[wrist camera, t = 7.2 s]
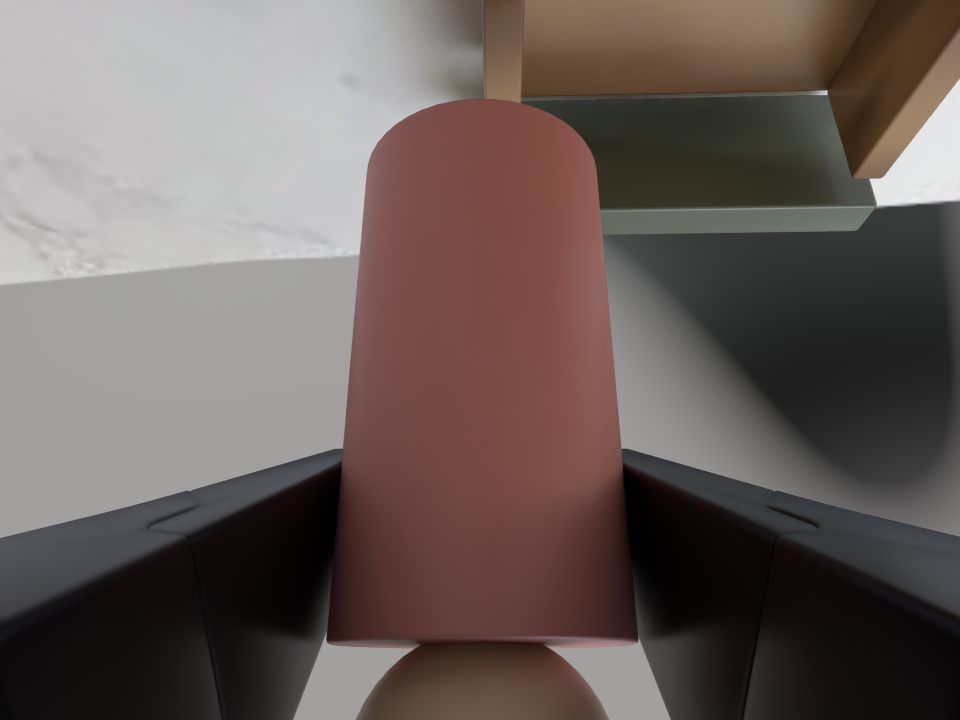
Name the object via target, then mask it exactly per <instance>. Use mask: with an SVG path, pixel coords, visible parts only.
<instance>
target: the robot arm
mask: <svg viewBox="0 0 960 720" xmlns="http://www.w3.org/2000/svg"><path fill="white" fill-rule="evenodd" d="M621 450H622V461H623V472H624V483H625V494H626V505H627V516H628V528H629V539H630V550H631V561H632V572H633V583H634V594H635V606H636V617H637V628H638V636H639V639H640V641H641V644H642V647H643V649H644V652H645V654H646V657H647V660H648V662H649V665H650V667H651V670H652V672H653V675H654V678H655V680H656V683H657V685H658V688H659V691H660V693H661V696H662V698H663V701H664V703H665V706H666V708H667V711H668V714H669V716H670V719H671V720H960V537H958V536H954V535H950V534H946V533H942V532H938V531H933V530H929V529H925V528H921V527H917V526H913V525H909V524H904V523H900V522H896V521H892V520H888V519H884V518H880V517H875V516H871V515H867V514H863V513H859V512H855V511H851V510H847V509H843V508H839V507H835V506H831V505H827V504H824V503H820V502H816V501H813V500H809V499H805V498H801V497H798V496H794V495H791V494H787V493H784V492H780V491H775V492H774V491H772V490H770V489H766V488H763V487H759V486H756V485H752V484H749V483H745V482H742V481H738V480H734V479H731V478H727V477H724V476H721V475H717V474H713V473H710V472H707V471H703V470H700V469H696V468H693V467H689V466H685V465H682V464H679V463H675V462H672V461H668V460H665V459H661V458H657V457H654V456H651V455H647V454H644V453H640V452H637V451H633V450H630V449H621ZM342 454H343V449H333V450H330V451H326V452H323V453H319V454H316V455H313V456H309V457H306V458H302V459H299V460H295V461H292V462H288V463H285V464H281V465H278V466H274V467H271V468H267V469H264V470H261V471H257V472H254V473H250V474H247V475H243V476H240V477H236V478H233V479H229V480H226V481H222V482H219V483H215V484H212V485H208V486H205V487H201V488H198V489H194V490H192V491H191V492H190V491H184V492H181V493H177V494H174V495H170V496H166V497H163V498H159V499H155V500H152V501H148V502H145V503H141V504H137V505H134V506H129V507H125V508H121V509H118V510H114V511H110V512H106V513H102V514H98V515H94V516H90V517H85V518H81V519H77V520H73V521H69V522H65V523H61V524H57V525H53V526H48V527H44V528H40V529H36V530H32V531H28V532H24V533H19V534H15V535H11V536H7V537H3V538H0V720H293V718H294V716H295V713H296V711H297V708H298V705H299V703H300V700H301V698H302V695H303V692H304V690H305V687H306V684H307V682H308V679H309V677H310V674H311V671H312V669H313V666H314V664H315V661H316V658H317V656H318V653H319V650H320V648H321V645H322V643H323V640H324V637H325V635H326V632H327V627H328V615H329V604H330V592H331V581H332V569H333V558H334V546H335V535H336V523H337V512H338V500H339V489H340V477H341V466H342Z"/></svg>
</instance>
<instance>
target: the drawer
mask: <svg viewBox="0 0 960 720" xmlns="http://www.w3.org/2000/svg"><path fill="white" fill-rule="evenodd" d="M482 27H483V64H484V99H497V100H507V101H512V102H517V103H522V104H526V105H529V106H532V107H536V108H538V109H541V110H543V111H545V112H548V113H550V114H552V115H554V116H555V117H557V118H559V119H561V120H562V121H564V122H565V123H566V124H568V125H569V126H570V127H572V128H573V129H574V130H575V131H576V132H577V133H578V134H579V135H580V136H581V137H582V138H583V140H584V141H585V143H586V144H587V146H588V147H589V149H590V151H591V153H592V155H593V158H594V160H595V165H596V171H597V182H598V193H599V204H600V215H601V226H602V235H609V234H674V233H742V232H808V231H855V230H858V229H859V227H860V226H861V225H862V224H863V222H864V221H865V220H866V219H867V217H868V216H869V215H870V214H871V213H872V211H873V210H874V209H875V208H876V205H877V203H876V199H875V196H874V193H873V189H872V186H871V183H870V178H882V177H883V176H884V175H885V174H886V173H887V171H888V170H889V169H890V167H891V166H892V165H893V164H894V162H895V161H896V160H897V158H898V157H899V156H900V155H901V153H902V152H903V151H904V149H905V148H906V147H907V146H908V144H909V143H910V142H911V140H912V139H913V138H914V137H915V135H916V134H917V133H918V131H919V130H920V129H921V128H922V126H923V125H924V124H925V122H926V121H927V120H928V119H929V117H930V116H931V115H932V113H933V112H934V111H935V110H936V108H937V107H938V106H939V104H940V103H941V102H942V101H943V99H944V98H945V97H946V95H947V94H948V93H949V92H950V90H951V89H952V88H953V86H954V85H955V84H956V83H957V81H958V80H959V79H960V0H482ZM812 90H828V95H804V96H754V97H704V98H654V99H603V100H553V101H521V96H563V95H613V94H663V93H712V92H762V91H812Z"/></svg>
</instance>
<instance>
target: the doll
mask: <svg viewBox="0 0 960 720" xmlns="http://www.w3.org/2000/svg"><path fill="white" fill-rule="evenodd" d="M326 640H327V643H329V644H331V645H337V646H350V647H373V648H414V650H412V651H411V652H409V653H408V654H407V655H405V656H404V657H402V658H401V659H400V660H399V661H398V662H397V663H396V664H395V665H393V666H392V667H391V668H390V669H389V670H388V671H387V672H386V674H385V675H384V676H383V677H382V678H381V679H380V681H379V682H378V683H377V684H376V685H375V687H374V689H373V690H372V691H371V693H370V694H369V696H368V697H367V699H366V700H365V702H364V704H363V706H362V708H361V710H360V712H359V714H358V716H357V718H356V720H609V718H608V716H607V714H606V712H605V710H604V708H603V706H602V704H601V702H600V701H599V699H598V698H597V696H596V695H595V693H594V692H593V690H592V689H591V687H590V686H589V684H588V683H587V682H586V681H585V680H584V678H583V677H582V676H581V675H580V674H579V673H578V671H577V670H576V669H575V668H574V667H572V666H571V665H570V664H569V663H568V662H567V661H566V660H565V659H564V658H563V657H561V656H560V655H558V654H557V653H555V652H554V651H553V650H551V649H550V648H591V647H613V646H627V645H634V644H636V643H638V628H637V617H636V606H635V594H634V583H633V572H632V561H631V550H630V539H629V528H628V516H627V505H626V494H625V483H624V472H623V461H622V450H621V438H620V427H619V416H618V405H617V394H616V383H615V371H614V360H613V349H612V338H611V327H610V316H609V305H608V293H607V282H606V271H605V260H604V249H603V238H602V226H601V215H600V204H599V193H598V182H597V171H596V165H595V160H594V158H593V155H592V153H591V151H590V149H589V147H588V146H587V144H586V143H585V141H584V140H583V138H582V137H581V136H580V135H579V134H578V133H577V132H576V131H575V130H574V129H573V128H572V127H570V126H569V125H568V124H566V123H565V122H564V121H562V120H561V119H559V118H557V117H555V116H554V115H552V114H550V113H548V112H545V111H543V110H541V109H538V108H536V107H532V106H529V105H526V104H522V103H517V102H512V101H507V100H497V99H466V100H458V101H451V102H447V103H442V104H438V105H435V106H432V107H429V108H426V109H423V110H421V111H418V112H416V113H414V114H412V115H410V116H408V117H407V118H405V119H403V120H402V121H400V122H399V123H397V124H396V125H395V126H394V127H392V128H391V129H390V130H389V131H388V132H387V133H386V134H385V135H384V136H383V137H382V138H381V140H380V141H379V142H378V143H377V145H376V147H375V149H374V150H373V152H372V154H371V157H370V160H369V163H368V169H367V178H366V189H365V201H364V212H363V224H362V235H361V247H360V258H359V270H358V282H357V293H356V304H355V316H354V327H353V339H352V351H351V362H350V374H349V385H348V397H347V408H346V420H345V431H344V443H343V454H342V466H341V477H340V489H339V500H338V512H337V523H336V535H335V546H334V558H333V569H332V581H331V592H330V604H329V615H328V627H327V638H326Z"/></svg>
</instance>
